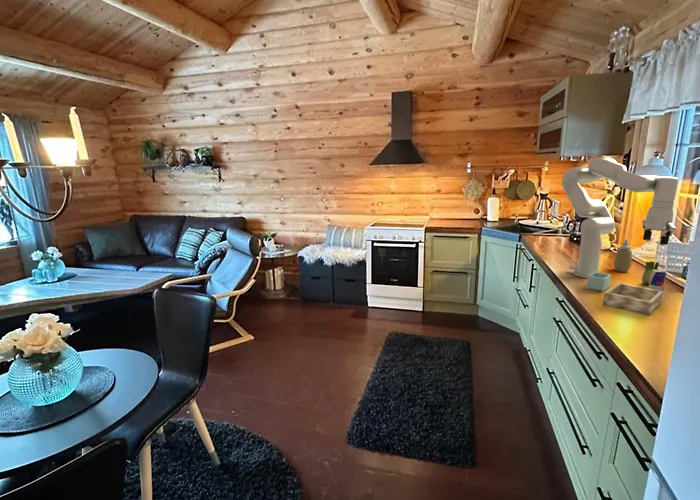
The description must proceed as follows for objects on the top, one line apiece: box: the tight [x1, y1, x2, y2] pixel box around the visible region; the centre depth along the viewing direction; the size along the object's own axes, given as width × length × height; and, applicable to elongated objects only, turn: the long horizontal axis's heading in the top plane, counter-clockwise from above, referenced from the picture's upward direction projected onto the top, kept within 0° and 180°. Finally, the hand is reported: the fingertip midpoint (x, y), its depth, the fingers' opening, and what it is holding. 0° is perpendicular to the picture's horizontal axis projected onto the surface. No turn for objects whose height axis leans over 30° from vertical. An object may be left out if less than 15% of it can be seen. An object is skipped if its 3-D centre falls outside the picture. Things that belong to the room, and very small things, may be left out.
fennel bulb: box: [641, 261, 660, 286], centre depth 190 cm, size 6×5×12 cm
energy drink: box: [648, 268, 667, 292], centre depth 174 cm, size 5×5×12 cm
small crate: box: [585, 271, 612, 293], centre depth 186 cm, size 7×10×6 cm
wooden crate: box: [602, 282, 664, 317], centre depth 165 cm, size 16×20×6 cm
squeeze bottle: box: [613, 239, 633, 273], centre depth 213 cm, size 8×8×18 cm
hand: (654, 242), depth 175 cm, fingers open, 9 cm apart
